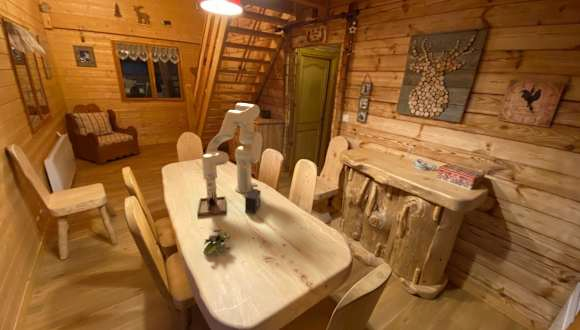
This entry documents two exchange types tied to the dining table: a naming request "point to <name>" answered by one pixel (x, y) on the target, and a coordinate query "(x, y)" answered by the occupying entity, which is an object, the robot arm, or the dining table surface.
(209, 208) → the walnut tray
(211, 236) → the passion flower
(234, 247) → the dining table surface
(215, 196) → the walnut cube
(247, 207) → the small box
